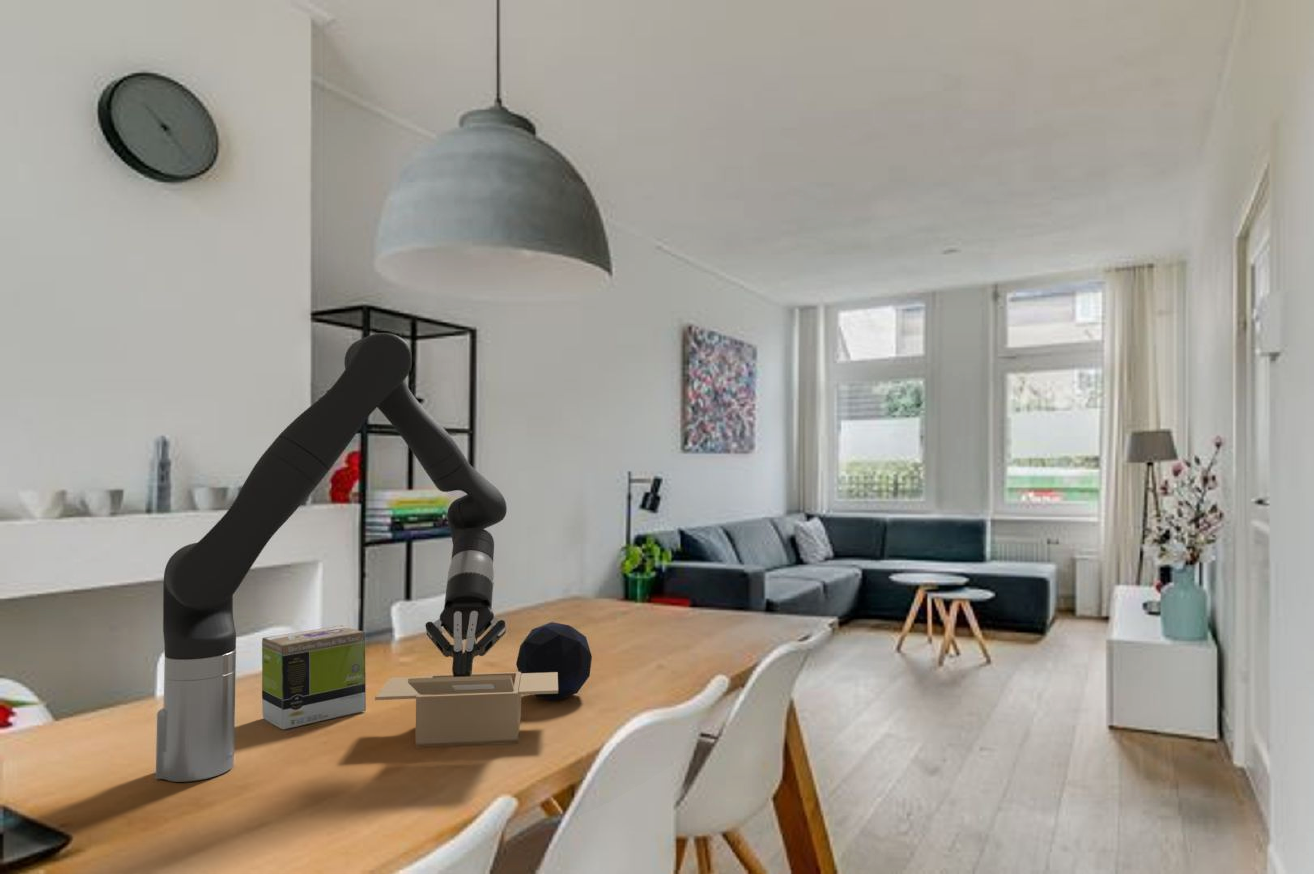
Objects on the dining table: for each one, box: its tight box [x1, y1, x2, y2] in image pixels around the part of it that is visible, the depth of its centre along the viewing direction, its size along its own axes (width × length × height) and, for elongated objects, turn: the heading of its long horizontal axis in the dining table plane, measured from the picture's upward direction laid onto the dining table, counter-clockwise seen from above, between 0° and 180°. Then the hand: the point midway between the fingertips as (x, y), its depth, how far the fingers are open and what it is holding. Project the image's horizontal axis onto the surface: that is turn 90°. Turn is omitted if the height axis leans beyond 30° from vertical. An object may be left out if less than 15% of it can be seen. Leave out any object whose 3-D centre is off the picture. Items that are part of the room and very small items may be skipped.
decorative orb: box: [515, 621, 593, 702], centre depth 158 cm, size 14×15×15 cm
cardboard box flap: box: [408, 675, 514, 695], centre depth 125 cm, size 15×1×12 cm
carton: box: [374, 671, 558, 749], centre depth 138 cm, size 29×15×8 cm, turn 97°
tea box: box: [261, 625, 367, 730], centre depth 147 cm, size 15×10×15 cm
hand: (461, 677), depth 123 cm, fingers closed
